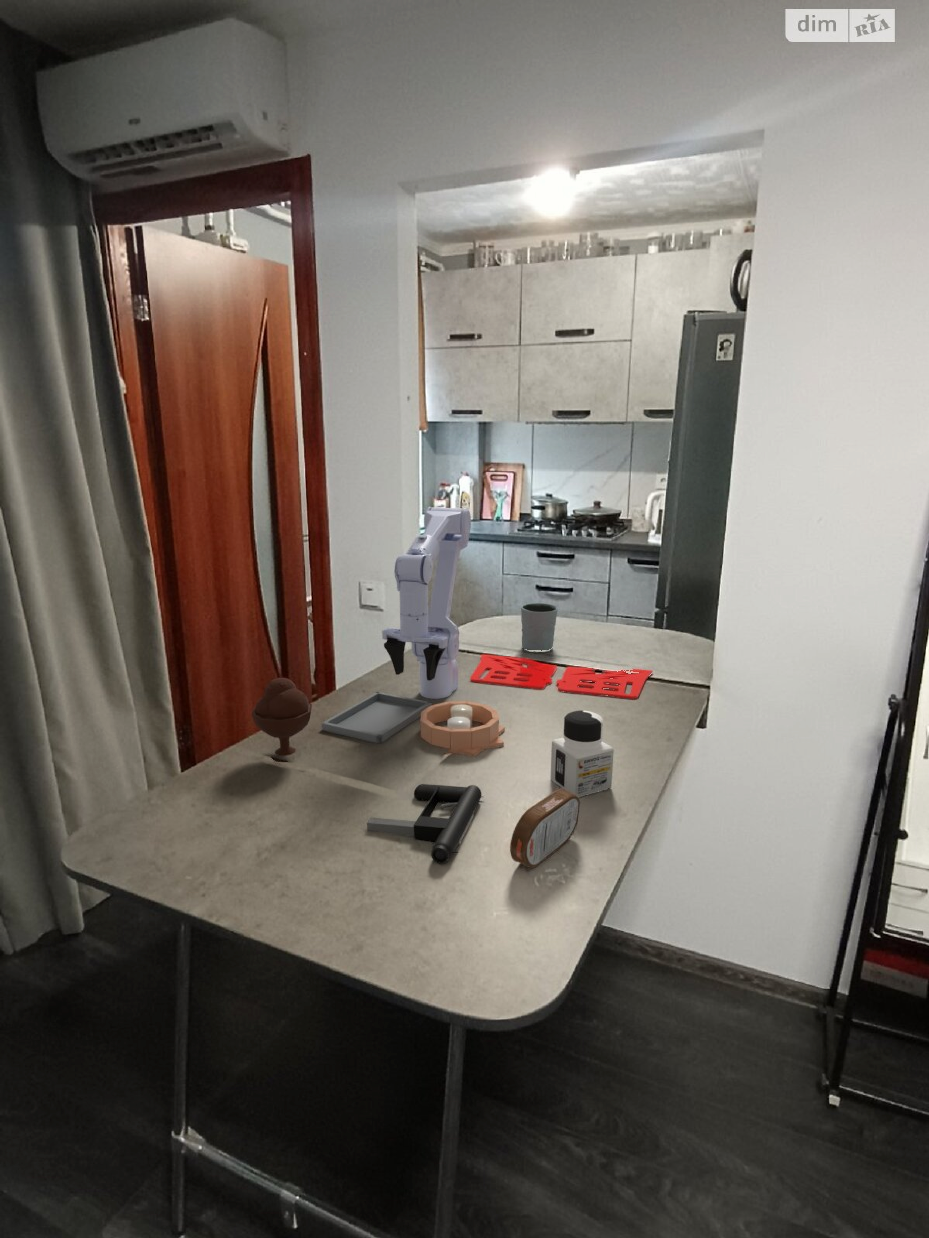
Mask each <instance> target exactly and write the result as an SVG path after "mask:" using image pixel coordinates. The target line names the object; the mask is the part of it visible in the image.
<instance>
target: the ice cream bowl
mask: <svg viewBox="0 0 929 1238" xmlns="http://www.w3.org/2000/svg"><path fill="white" fill-rule="evenodd" d="M312 707H313V704H312V703H310V702H309V698H308V697H307V695H306V694H305V693H304V692H303V691H302V690H300V689H298V688H297V686H296V684H295V683H294V682H293V681H292V680H291V679H289V678H287V677H277V678H275V679H272V680H270V681H269V683H267V684H266V687H265V689H264V692H263V696H261V697H260V698H259V699H258V701H257V702H256V704H255V706H254V707H253V710H252V713H251V716H252V721H253V722H254V725H256V727H257V729H259V730H261V731H262V732H263V733H265V734H266V735H268V736H270V737H272V738H274V739H275V738H276V739H277V738H278V739H279V748H277V749H275V750H274V754H275V755H276V756H281V757H285V756H291V755H293V754H295V753H296V752H297V748H295V747H293V746H290V738H291V737H294V736H296V735H297V734H298V733H300V732H302V731H303V730H304V729H305V728H306V727H307V725H308V724H309V722H310V720H311V714H312V709H313V708H312ZM271 758H272V759H273V760H275V761H276V762H275V761H274V762H275V763H289V762H288V761H289V760H285V759H282V758H277V757H273V756H271V757H270V759H271ZM272 759H271V760H272ZM273 760H272V761H273Z"/></svg>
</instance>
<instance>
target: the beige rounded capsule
mask: <svg viewBox="0 0 929 1238" xmlns="http://www.w3.org/2000/svg"><path fill="white" fill-rule="evenodd" d="M452 717H465V718H468V719H469V720H470V729H471V728H473V721H472V707H471V706H469V705H454V706H452V707H451V718H452Z"/></svg>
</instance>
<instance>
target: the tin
mask: <svg viewBox="0 0 929 1238" xmlns="http://www.w3.org/2000/svg"><path fill="white" fill-rule="evenodd" d="M580 806H581V800H580V797H579V798H578V797H577V796H576V795H574V794H572V793H570V792H568V791H566V790H565V789H563V788H558V789H556V790H555V791H552V793H550V794H549V795H547V796H546V797H545V798H542V799H541V800H540V801H538V802H536V803H535V804H534V805H532V806H530V807H529V808H528V809H526V810H525V812H524V813H523V814H522V815H521V817H520V818H519V820H518V821H517V823H516V825H515V828H513V829H514V830H513V833H512V835H511V839H510V844H509V846H510V847H509V854H510V857H511V858H512V860H513V862H516V863H519V864H521V865H523V866H525V867H527V868H535V867H538V866H539V865H540V864H542V863H543V862H544V861H545V860H546V859H548V858H549V857H550V856H551V855H553V854H554V853H556V852H557V851H558V850H560V848H562V847H563V846H565V845H566V844H567V842H568V841H569V840H570V839H571V837H572V836H573V834H574V832H575V830H576V829H577V826H578V822H579V814H580Z"/></svg>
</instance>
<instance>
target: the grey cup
mask: <svg viewBox="0 0 929 1238" xmlns="http://www.w3.org/2000/svg"><path fill="white" fill-rule="evenodd" d="M558 609H559V608H558V607H557V606H555V605H553V604H550V603H542V602H531V603H530V602H529V603H526V604H525V603H524V604H522V605H521V607H520V611H521V612H520V613H521V614H520V615H521V616H520V617H521V648H522V647H523V648H524V649H527V650H541V651H542V650H549V649H551V648H552V647H553V648H554V641H555V639H554V637H555V631H556V630H555V628H556V625H557V616H558ZM553 648H552V649H553Z"/></svg>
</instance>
